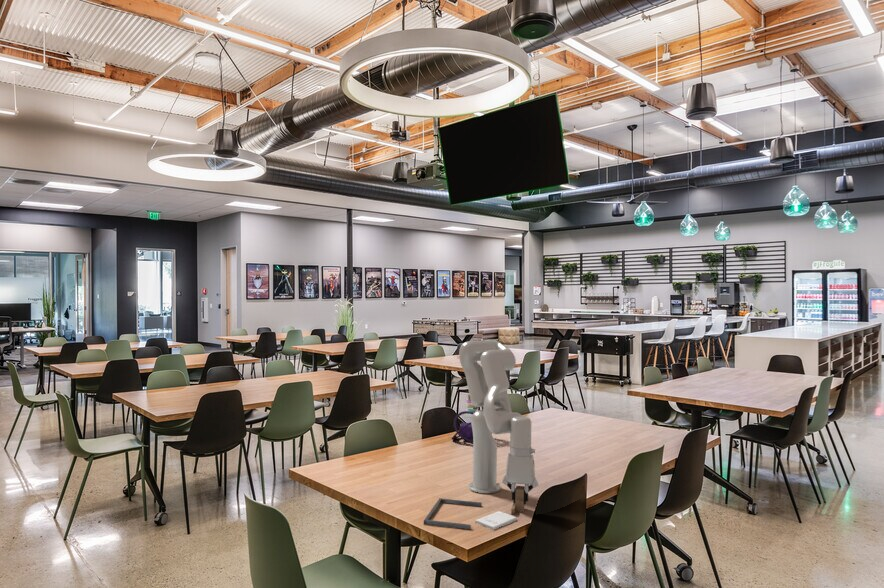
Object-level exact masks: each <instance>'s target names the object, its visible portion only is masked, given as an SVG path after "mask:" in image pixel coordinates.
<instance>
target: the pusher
mask: <svg viewBox="0 0 884 588" xmlns="http://www.w3.org/2000/svg"><path fill="white" fill-rule="evenodd" d="M515 488H516V489H515V503H514V501H513V502H512V505H511V508H510V511H511V512H510V515H512V516H514V515H515V514H516V513H517V512H518V513H524V512H525V509H524V508H525V507H526V506H525V505H526V504H524V491H525V485H524V486H523V485H515Z"/></svg>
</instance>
